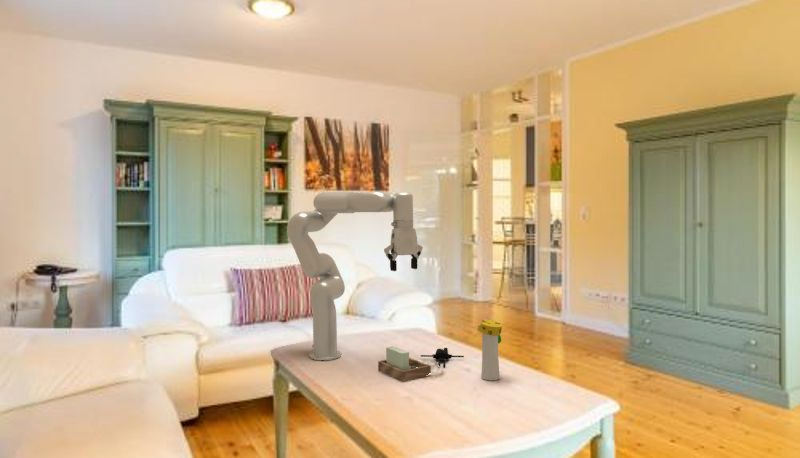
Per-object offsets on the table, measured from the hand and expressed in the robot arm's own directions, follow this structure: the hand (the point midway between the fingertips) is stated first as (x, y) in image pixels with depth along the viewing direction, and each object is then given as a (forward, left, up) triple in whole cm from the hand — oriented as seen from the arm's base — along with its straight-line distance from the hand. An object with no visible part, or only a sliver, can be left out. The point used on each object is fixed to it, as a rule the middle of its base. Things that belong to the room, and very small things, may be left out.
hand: (404, 269), depth 199 cm
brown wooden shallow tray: (+9, -7, -36) cm, 38 cm away
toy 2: (+32, +14, -36) cm, 51 cm away
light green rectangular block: (+9, -10, -35) cm, 38 cm away
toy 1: (+7, +12, -37) cm, 39 cm away
